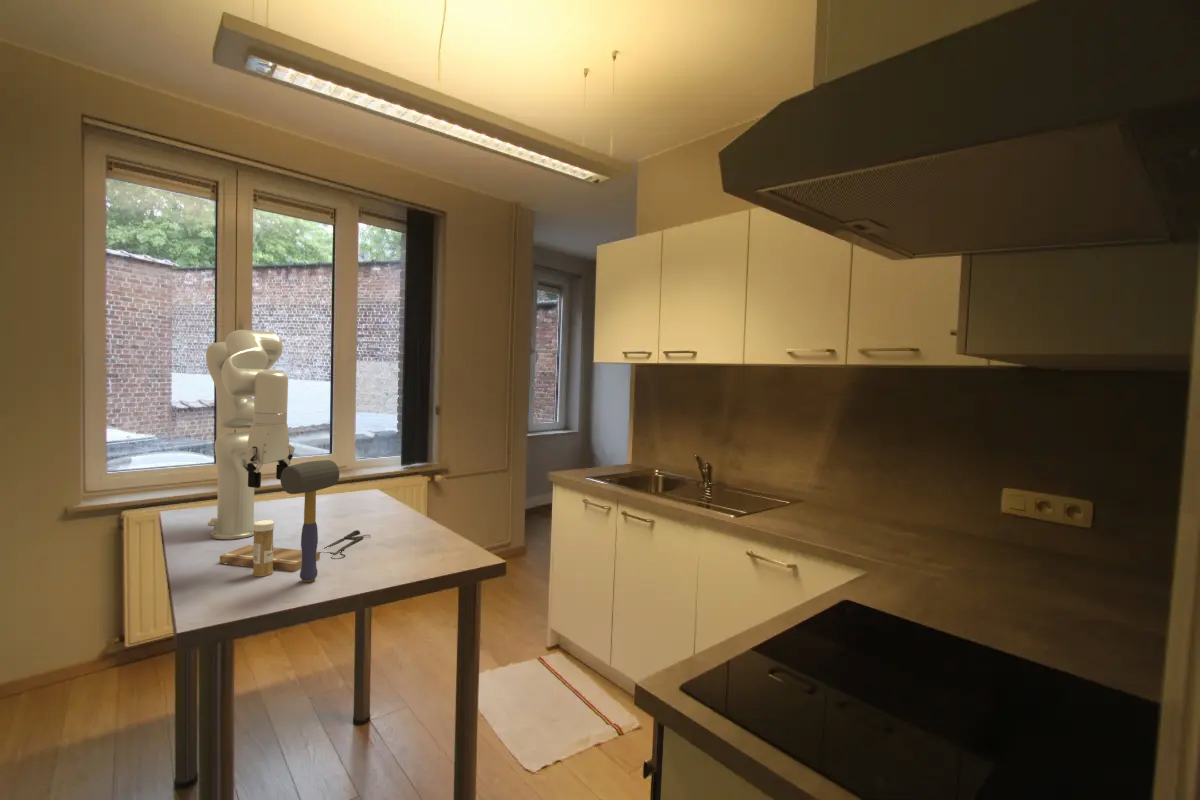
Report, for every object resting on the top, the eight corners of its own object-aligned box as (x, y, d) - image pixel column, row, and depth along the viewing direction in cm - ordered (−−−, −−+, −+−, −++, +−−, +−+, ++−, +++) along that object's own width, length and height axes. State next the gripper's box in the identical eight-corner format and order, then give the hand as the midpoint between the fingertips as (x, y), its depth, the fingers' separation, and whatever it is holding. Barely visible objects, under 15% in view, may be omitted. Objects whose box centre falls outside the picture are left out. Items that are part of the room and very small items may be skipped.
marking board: (219, 563, 147) (219, 555, 147) (248, 551, 157) (249, 544, 157) (294, 571, 144) (294, 563, 144) (319, 559, 154) (319, 551, 154)
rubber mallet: (317, 570, 146) (320, 456, 144) (339, 575, 143) (342, 459, 142) (275, 586, 134) (277, 463, 133) (298, 592, 131) (300, 466, 130)
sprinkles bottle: (273, 575, 141) (274, 523, 140) (252, 578, 138) (253, 525, 138) (272, 569, 145) (273, 518, 144) (251, 572, 142) (252, 520, 142)
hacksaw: (355, 533, 180) (355, 529, 180) (385, 536, 178) (385, 531, 178) (306, 557, 156) (306, 552, 156) (340, 560, 154) (340, 555, 154)
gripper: (281, 414, 154) (280, 475, 156) (230, 420, 137) (229, 488, 139) (306, 417, 153) (304, 478, 154) (257, 423, 136) (255, 492, 137)
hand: (268, 483), depth 147 cm, fingers open, 9 cm apart
